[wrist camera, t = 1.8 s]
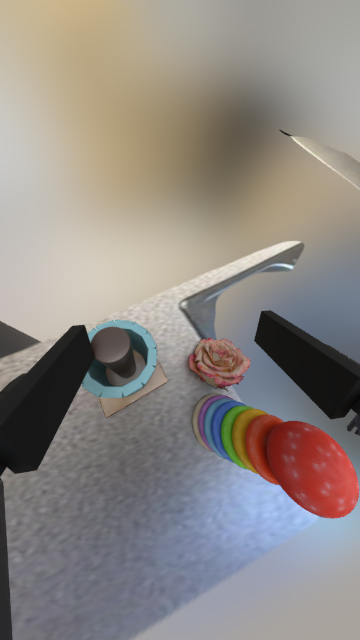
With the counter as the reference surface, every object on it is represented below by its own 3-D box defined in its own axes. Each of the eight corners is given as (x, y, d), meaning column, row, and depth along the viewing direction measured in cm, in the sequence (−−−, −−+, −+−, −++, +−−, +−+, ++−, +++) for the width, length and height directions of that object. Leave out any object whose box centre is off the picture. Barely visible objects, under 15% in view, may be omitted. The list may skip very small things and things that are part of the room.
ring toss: (85, 356, 26) (20, 314, 12) (142, 331, 30) (143, 278, 16) (107, 417, 23) (56, 453, 9) (167, 381, 27) (194, 370, 13)
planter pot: (91, 357, 25) (64, 338, 16) (139, 336, 28) (138, 310, 19) (110, 407, 23) (90, 416, 14) (160, 378, 26) (169, 371, 17)
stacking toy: (180, 420, 25) (257, 477, 8) (211, 383, 28) (310, 370, 12) (216, 463, 24) (392, 633, 7) (244, 419, 27) (407, 462, 10)
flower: (249, 389, 28) (264, 354, 24) (212, 419, 23) (223, 382, 19) (209, 356, 34) (216, 325, 30) (175, 374, 29) (177, 340, 26)
